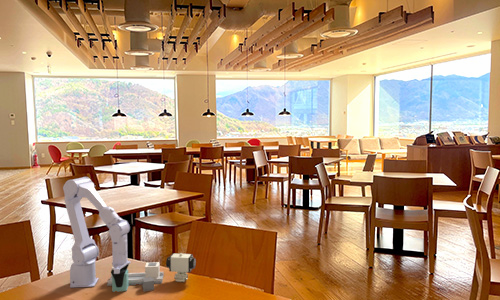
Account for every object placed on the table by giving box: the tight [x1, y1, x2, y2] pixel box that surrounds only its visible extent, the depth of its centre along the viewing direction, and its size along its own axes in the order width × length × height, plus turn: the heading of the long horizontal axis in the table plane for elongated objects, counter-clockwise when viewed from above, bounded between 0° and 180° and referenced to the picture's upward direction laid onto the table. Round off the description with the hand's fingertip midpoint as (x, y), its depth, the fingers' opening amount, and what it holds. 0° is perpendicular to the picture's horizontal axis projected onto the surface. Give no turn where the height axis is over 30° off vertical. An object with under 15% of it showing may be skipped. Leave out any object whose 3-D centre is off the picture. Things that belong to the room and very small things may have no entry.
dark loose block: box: [141, 277, 155, 292], centre depth 161 cm, size 4×4×4 cm
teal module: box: [111, 269, 130, 293], centre depth 160 cm, size 6×4×7 cm
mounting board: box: [106, 261, 165, 287], centre depth 170 cm, size 22×10×7 cm, turn 98°
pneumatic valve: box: [165, 252, 197, 283], centre depth 169 cm, size 6×12×12 cm, turn 84°
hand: (120, 284), depth 161 cm, fingers closed on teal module, 4 cm apart
